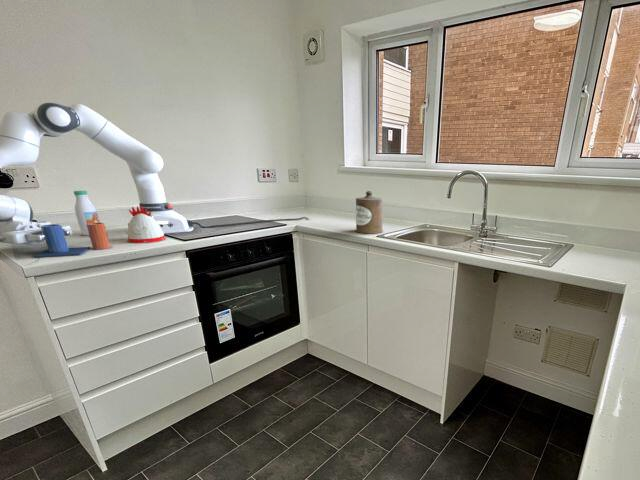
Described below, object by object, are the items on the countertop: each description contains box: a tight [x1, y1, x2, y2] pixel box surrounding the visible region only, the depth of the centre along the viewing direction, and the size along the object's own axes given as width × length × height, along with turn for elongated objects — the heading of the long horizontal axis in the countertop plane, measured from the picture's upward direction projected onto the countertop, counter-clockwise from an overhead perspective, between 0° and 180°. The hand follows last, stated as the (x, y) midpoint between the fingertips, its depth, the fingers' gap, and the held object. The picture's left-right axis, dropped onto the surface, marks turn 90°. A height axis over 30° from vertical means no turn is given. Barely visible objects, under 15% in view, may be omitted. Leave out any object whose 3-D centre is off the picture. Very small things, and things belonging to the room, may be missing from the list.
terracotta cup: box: [86, 221, 111, 250], centre depth 142 cm, size 6×6×10 cm
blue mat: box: [34, 246, 91, 259], centre depth 135 cm, size 13×12×1 cm
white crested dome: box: [126, 206, 166, 244], centre depth 158 cm, size 14×14×15 cm
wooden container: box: [355, 190, 383, 234], centre depth 195 cm, size 15×15×22 cm
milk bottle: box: [73, 190, 101, 236], centre depth 164 cm, size 8×8×20 cm
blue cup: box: [41, 223, 70, 253], centre depth 133 cm, size 6×6×10 cm
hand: (56, 235), depth 132 cm, fingers open, 8 cm apart
